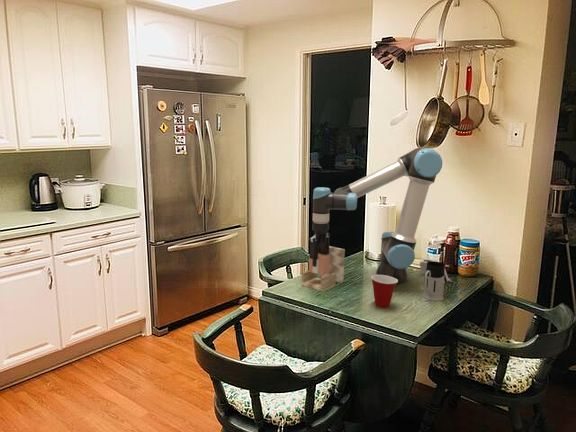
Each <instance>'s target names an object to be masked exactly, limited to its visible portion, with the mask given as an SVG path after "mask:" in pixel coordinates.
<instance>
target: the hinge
mask: <svg viewBox="0 0 576 432" xmlns="http://www.w3.org/2000/svg"><path fill="white" fill-rule="evenodd" d="M431 261H435V260H433V259H430V258H427V259H426V258H425V259H423V260H421V261H420V262H419V268H420V273H421V274H422V275H424V276H425V274H426V268H427V262H431ZM435 262H437V261H435ZM444 275H445V276H444V284H445V283H446V282H448V281H449V283H451V282H452V280H451V278H449V277H448V273H447V270H446V269H445V271H444Z"/></svg>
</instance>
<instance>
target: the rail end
mask: <svg viewBox="0 0 576 432" xmlns="http://www.w3.org/2000/svg"><path fill="white" fill-rule="evenodd" d="M309 256H310V254H309V255H308V270H309V272H312V270H313V266H312V262H313V260H312V259H310V258H309ZM318 260H319V265H318V274H317V273H316V274H317V275H319V276H320V275H325V274H327V273H329V265H330V256H328V255H324V254H321V252H319V253H318Z"/></svg>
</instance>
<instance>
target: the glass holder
mask: <svg viewBox="0 0 576 432" xmlns="http://www.w3.org/2000/svg"><path fill="white" fill-rule="evenodd" d="M445 270H446V263H444V262H440V261H436V262H435V260H434V261H431V262H427V268H426V274H425V275H424V290H423V291H424V292H423V294H422V297H423V298H425V299H426V300H430V301H442V300H444V287H445V283H444V276H445V275H444V271H445Z"/></svg>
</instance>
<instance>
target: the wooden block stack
mask: <svg viewBox="0 0 576 432" xmlns="http://www.w3.org/2000/svg"><path fill="white" fill-rule="evenodd" d="M345 253H346V249H345V248H340V247H336V246H330V245H329V254H327V255H328V256H330V265H329V273H327V274H325V275H320V274H319V276H320V277H317V275H318V274H316V273H313V272H309V269H308V270H305V271H304V272H302V273H301V286H304V287H306V288H309V289H312V290H317V291H320V292H325V291H327V290H329V289H331V288H333V287H336V282H337V283H340V284H342V283H344V277H345V257H346V256H345Z"/></svg>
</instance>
